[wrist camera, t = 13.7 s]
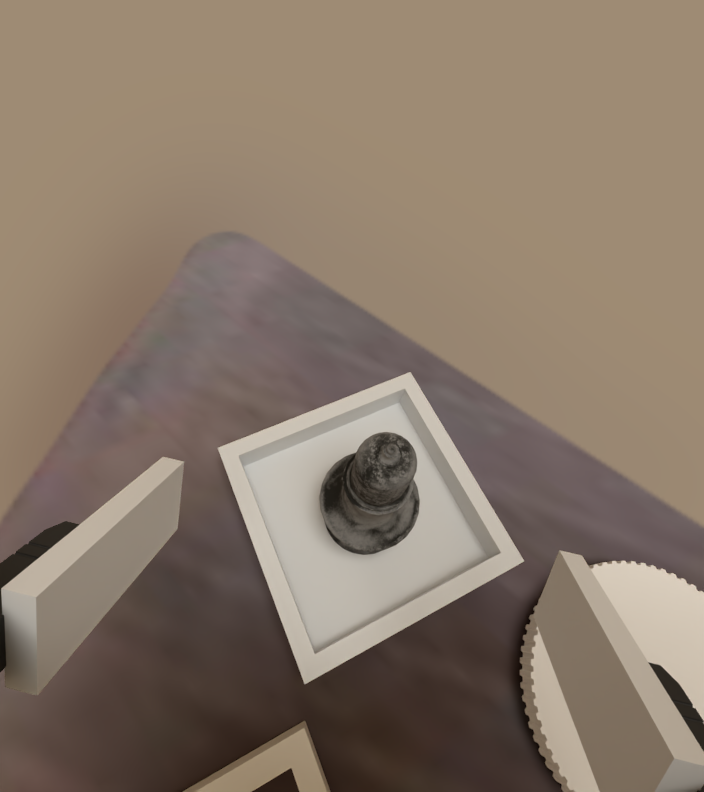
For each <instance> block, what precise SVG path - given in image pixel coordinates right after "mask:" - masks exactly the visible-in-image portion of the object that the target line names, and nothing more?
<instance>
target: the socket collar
mask: <svg viewBox="0 0 704 792" xmlns="http://www.w3.org/2000/svg"><path fill="white" fill-rule="evenodd" d="M290 768H292V771H293V774H294V777H295V780H296V783H297V786H298V789H299V792H331V791H330V789H329V786H328V783H327V780H326V777H325V775H324V772H323V769H322V766H321V763H320V761H319V758H318V755H317V752H316V749H315V747H314V744H313V741H312V738H311V736H310V733H309V730H308V727H307V724H306V722H305V721H303V722H301V723H299V724H298V725H296V726H294V727H293V728H291V729H289V730H287V731H286V732H284V733H282V734H281V735H279V736H277V737H275V738H274V739H272V740H270V741H269V742H267V743H265V744H263V745H262V746H260V747H258V748H257V749H255V750H253V751H251V752H250V753H248V754H246V755H245V756H243V757H241V758H239V759H238V760H236V761H234V762H233V763H231V764H229V765H227V766H226V767H224V768H222V769H221V770H219V771H217V772H215V773H214V774H212V775H210V776H209V777H207V778H205V779H203V780H202V781H200V782H198V783H197V784H195V785H193V786H191V787H190V788H188V789H186V790H185V791H183V792H252V791H254V790H255V789H257V788H259V787H260V786H262V785H263V784H265V783H267V782H268V781H270V780H272V779H273V778H275V777H277V776H278V775H280V774H282V773H283V772H285V771H287V770H288V769H290Z"/></svg>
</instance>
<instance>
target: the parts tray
mask: <svg viewBox="0 0 704 792" xmlns="http://www.w3.org/2000/svg"><path fill="white" fill-rule="evenodd" d="M381 432H390V433H395V434H398V435H400V436H402V437H404V438H405V439H406V440H408V441H409V443H410V444H411V445H412V446H413V448H414V450H415V452H416V457H417V470H416V473H415V475H414V478H413V479H414V481H415V483H416V485H417V488H418V493H419V498H420V505H419V514H418V517H417V520H416V523H415V525H414V527H413V528H412V530H411V531H410V533H409V534H408V535H407V537H406V538H404V539H403V540H402V541H401V542H399V543H398V544H397V545H395V546H393V547H390V548H388V549H385V550H382V551H380V552H378V553H375V554H368V555H361V554H355V553H352V552H349V551H347V550H345V549H343V548H342V547H341V546H339V545H338V544H337V543H336V542H335V541H334V540H333V539H332V537H331V536H330V534H329V533H328V531H327V528H326V525H325V522H324V519H323V516H322V513H321V511H320V499H319V496H320V491H321V485H322V482H323V480H324V478H325V476H326V474H327V472H328V471H329V470H330V469H331V468H332V466H333V465H334V464H335V463H336V462H338V461H339V460H341V459H342V458H344V457H345V456H347V455H350V454H353V453H356V452H357V450H358V448H359V446H360V445H361V444H362V443H363V442H364V440H366V439H367V438H369V437H370V436H372V435H374V434H377V433H381ZM218 450H219V453H220V456H221V458H222V461H223V464H224V467H225V469H226V472H227V475H228V477H229V480H230V483H231V486H232V488H233V491H234V494H235V496H236V499H237V502H238V505H239V507H240V510H241V513H242V515H243V518H244V521H245V524H246V526H247V529H248V532H249V534H250V537H251V540H252V543H253V545H254V548H255V551H256V554H257V556H258V559H259V562H260V564H261V567H262V570H263V573H264V575H265V578H266V581H267V583H268V586H269V589H270V592H271V594H272V597H273V600H274V602H275V605H276V608H277V611H278V613H279V616H280V619H281V621H282V624H283V627H284V630H285V632H286V635H287V638H288V641H289V643H290V646H291V649H292V651H293V654H294V657H295V660H296V662H297V665H298V668H299V670H300V673H301V676H302V679H303V681H304V684H306V683H308V682H310V681H312V680H313V679H315V678H317V677H319V676H321V675H322V674H324V673H326V672H328V671H329V670H331V669H333V668H335V667H337V666H338V665H340V664H342V663H344V662H346V661H347V660H349V659H351V658H353V657H354V656H356V655H358V654H360V653H362V652H363V651H365V650H367V649H369V648H371V647H372V646H374V645H376V644H378V643H379V642H381V641H383V640H385V639H387V638H388V637H390V636H392V635H394V634H395V633H397V632H399V631H401V630H403V629H404V628H406V627H408V626H410V625H412V624H413V623H415V622H417V621H419V620H420V619H422V618H424V617H426V616H428V615H429V614H431V613H433V612H435V611H437V610H438V609H440V608H442V607H444V606H445V605H447V604H449V603H451V602H453V601H454V600H456V599H458V598H460V597H462V596H463V595H465V594H467V593H469V592H470V591H472V590H474V589H476V588H478V587H479V586H481V585H483V584H485V583H486V582H488V581H490V580H492V579H494V578H495V577H497V576H499V575H501V574H503V573H504V572H506V571H508V570H510V569H511V568H513V567H515V566H517V565H519V564H520V563H522V562H524V560H523V558H522V557H521V555H520V553H519V552H518V550H517V548H516V547H515V545H514V543H513V542H512V540H511V538H510V537H509V535H508V533H507V532H506V530H505V528H504V527H503V525H502V523H501V522H500V520H499V518H498V517H497V515H496V513H495V512H494V510H493V508H492V507H491V505H490V504H489V502H488V500H487V499H486V497H485V495H484V494H483V492H482V490H481V489H480V487H479V485H478V484H477V482H476V480H475V479H474V477H473V475H472V474H471V472H470V470H469V469H468V467H467V465H466V464H465V462H464V460H463V459H462V457H461V455H460V454H459V452H458V450H457V449H456V447H455V445H454V444H453V442H452V440H451V439H450V437H449V435H448V434H447V432H446V430H445V429H444V427H443V425H442V424H441V422H440V420H439V419H438V417H437V416H436V414H435V412H434V411H433V409H432V407H431V406H430V404H429V402H428V401H427V399H426V397H425V396H424V394H423V392H422V391H421V389H420V387H419V386H418V384H417V382H416V381H415V379H414V377H413V376H412V374H411V372H409V373H407V374H404V375H402V376H399V377H397V378H394V379H392V380H389V381H386V382H384V383H381V384H379V385H376V386H374V387H371V388H369V389H366V390H364V391H361V392H359V393H356V394H353V395H351V396H348V397H346V398H343V399H341V400H338V401H336V402H333V403H331V404H328V405H326V406H323V407H320V408H318V409H315V410H313V411H310V412H308V413H305V414H303V415H300V416H298V417H295V418H293V419H290V420H287V421H285V422H282V423H280V424H277V425H275V426H272V427H270V428H267V429H265V430H262V431H260V432H257V433H254V434H252V435H249V436H247V437H244V438H242V439H239V440H237V441H234V442H232V443H229V444H227V445H224V446H221V447H219V448H218Z"/></svg>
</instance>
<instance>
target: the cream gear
mask: <svg viewBox="0 0 704 792" xmlns="http://www.w3.org/2000/svg"><path fill="white" fill-rule="evenodd" d="M589 568H590V569H591V571H592V572H593V574H594V576H595V577H596V579H597V581H598V582H599V584H600V585H601V587H602V589H603V590H604V592H605V593H606V595H607V597H608V598H609V600H610V601H611V603H612V605H613V606H614V608H615V610H616V611H617V613H618V614H619V616H620V618H621V619H622V621H623V622H624V624H625V626H626V627H627V629H628V631H629V632H630V634H631V635H632V637H633V639H634V640H635V642H636V643H637V645H638V647H639V648H640V650H641V651H642V653H643V655H644V656H645V658H646V660H647V661H648V662H649V663H653V664H658V665H661V666H662V667H663V668H664V669H665V670H666V671H667V672H668V673H669V674H670V675H671V676H672V677H673V678H674V679H675V680H676V681H677V682H678V683H679V684H680V686H681V687H682V689H683V690H684V692H685V693H686V695H687V696H688V698H689V699H690V701H691V702H692V704H693V708H696V710H697V712H698V713H699V715H700V716H701V718H702V719H703V721H704V592H703V591H698V590H696V586H694V585H693V584H687V583H686V580H685V579H683V578H677V577H676V575H675V574H673V573H666V570H664V569H656V567H655V566H653V565H650V566H646V564H645V563H638V564H636V562H634V561H630V562H626V561H618V562H616V561H610V562H603V563H598V564H594V565H589ZM539 599H540V598H539ZM538 602H539V600H538ZM536 607H537V606H534V608H533V610H534V611H535V609H536ZM529 619H530V624H527V625H526V627H525V629H526V630H527V634H526V635H523V640H524V641H525V643H524V646H521V651H522V652H523V657H520V663H521V664H522V669H521V670H520V676H522V679H523V681H522V682H520V687H521V688H522V689H523V690H524V695H522V700H523V702H525V703H526V708H525V709H524V710H525V714H526V715H528V716H529V719H530V721H529V722H528V725H529V728H531V729H533V731H534V735H533V739H534V741H535V742H537V743H538V744H539V746H540V748H539V749H538V750H539V753H540V755H542V756H544V757H545V758H546V761H545V764H546V766H547V768H549V769H550V770H552V771H553V775H552V776H553V778H554V779H555V780H556V781H557V782H559V783H560V784H562V786H561V789H562V790H563V792H600V791H599V789H598V786H597V783H596V781H595V778H594V775H593V773H592V770H591V767H590V765H589V762H588V759H587V757H586V754H585V751H584V749H583V746H582V744H581V741H580V738H579V736H578V733H577V730H576V728H575V725H574V722H573V720H572V717H571V714H570V712H569V709H568V706H567V704H566V701H565V698H564V696H563V693H562V690H561V688H560V685H559V682H558V680H557V677H556V674H555V672H554V669H553V666H552V664H551V661H550V658H549V656H548V653H547V651H546V648H545V645H544V643H543V640H542V637H541V635H540V632H539V629H538V627H537V624H536V621H535V619H534V616H533V615H530V616H529Z"/></svg>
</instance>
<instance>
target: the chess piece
mask: <svg viewBox="0 0 704 792" xmlns="http://www.w3.org/2000/svg"><path fill="white" fill-rule="evenodd" d="M416 470H417V457H416V452H415V450H414V448H413V446H412V445H411V444H410V443H409V441H408V440H406V439H405V438H404V437H402V436H400V435H398V434H395V433H390V432H381V433H377V434H374V435H372V436H370V437H369V438H367V439H366V440H364V442H363V443H362V444H361V445H360V446H359V448H358V450H357V452H356V453H353V454H350V455H347V456H345V457H344V458H342V459H341V460H339V461H338V462H336V463H335V464H334V465H333V466H332V468H331V469H330V470H329V471H328V472H327V474H326V476H325V478H324V480H323V482H322V485H321V491H320V496H319V499H320V511H321V513H322V516H323V519H324V522H325V525H326V528H327V531H328V533H329V534H330V536H331V537H332V539H333V540H334V541H335V542H336V543H337V544H338V545H339V546H341V547H342V548H343V549H345V550H347V551H349V552H352V553H355V554H361V555H368V554H375V553H378V552H380V551H382V550H385V549H388V548H390V547H393V546H395V545H397V544H398V543H399V542H401V541H402V540H403V539H404V538H406V537H407V535H408V534H409V533H410V531H411V530H412V528H413V527H414V525H415V523H416V520H417V517H418V514H419V505H420V498H419V493H418V488H417V485H416V483H415V481H414V479H413V478H414V475H415V473H416Z"/></svg>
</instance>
